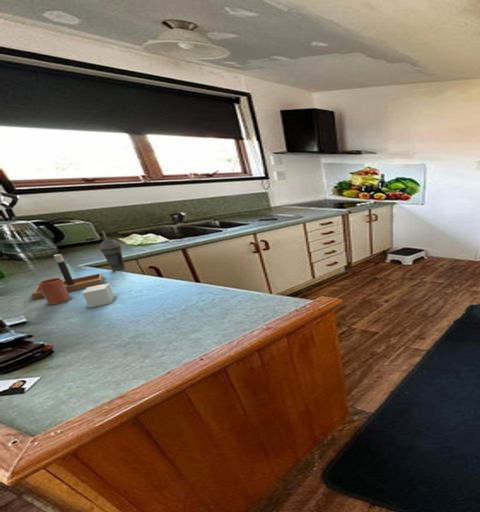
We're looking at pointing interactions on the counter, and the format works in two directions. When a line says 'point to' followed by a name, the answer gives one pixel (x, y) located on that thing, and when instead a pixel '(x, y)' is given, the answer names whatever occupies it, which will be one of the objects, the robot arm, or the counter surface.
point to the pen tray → (79, 284)
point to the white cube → (98, 295)
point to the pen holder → (54, 291)
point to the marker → (64, 269)
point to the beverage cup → (112, 254)
